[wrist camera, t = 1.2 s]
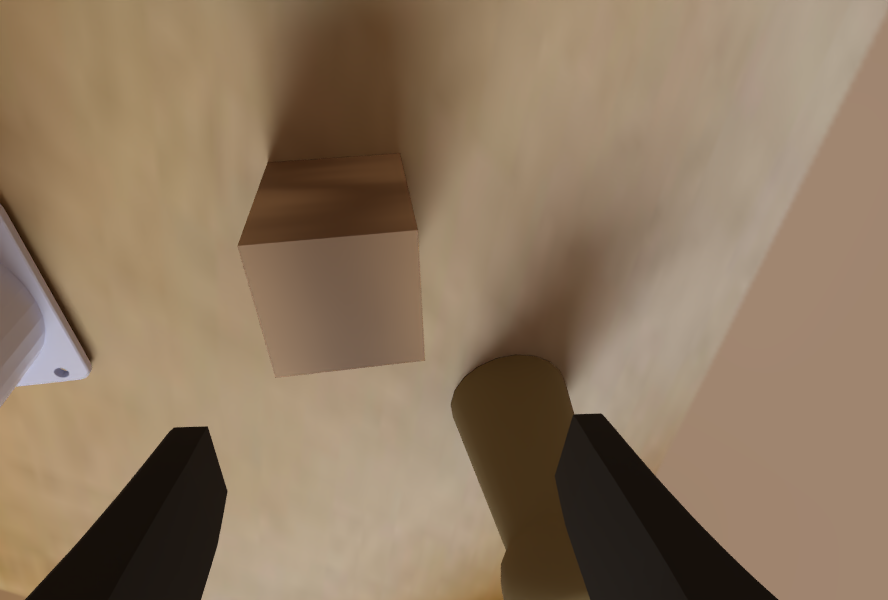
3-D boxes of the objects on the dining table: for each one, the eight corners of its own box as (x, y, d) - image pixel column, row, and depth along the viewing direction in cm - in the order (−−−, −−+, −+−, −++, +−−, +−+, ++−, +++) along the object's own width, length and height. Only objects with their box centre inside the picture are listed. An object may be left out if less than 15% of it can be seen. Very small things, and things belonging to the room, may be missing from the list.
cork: (532, 334, 24) (638, 565, 15) (583, 401, 28) (694, 623, 19) (427, 396, 26) (469, 641, 17) (488, 453, 29) (550, 683, 20)
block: (293, 273, 21) (275, 377, 16) (267, 162, 18) (237, 246, 13) (407, 262, 21) (424, 360, 16) (399, 152, 18) (417, 230, 14)
